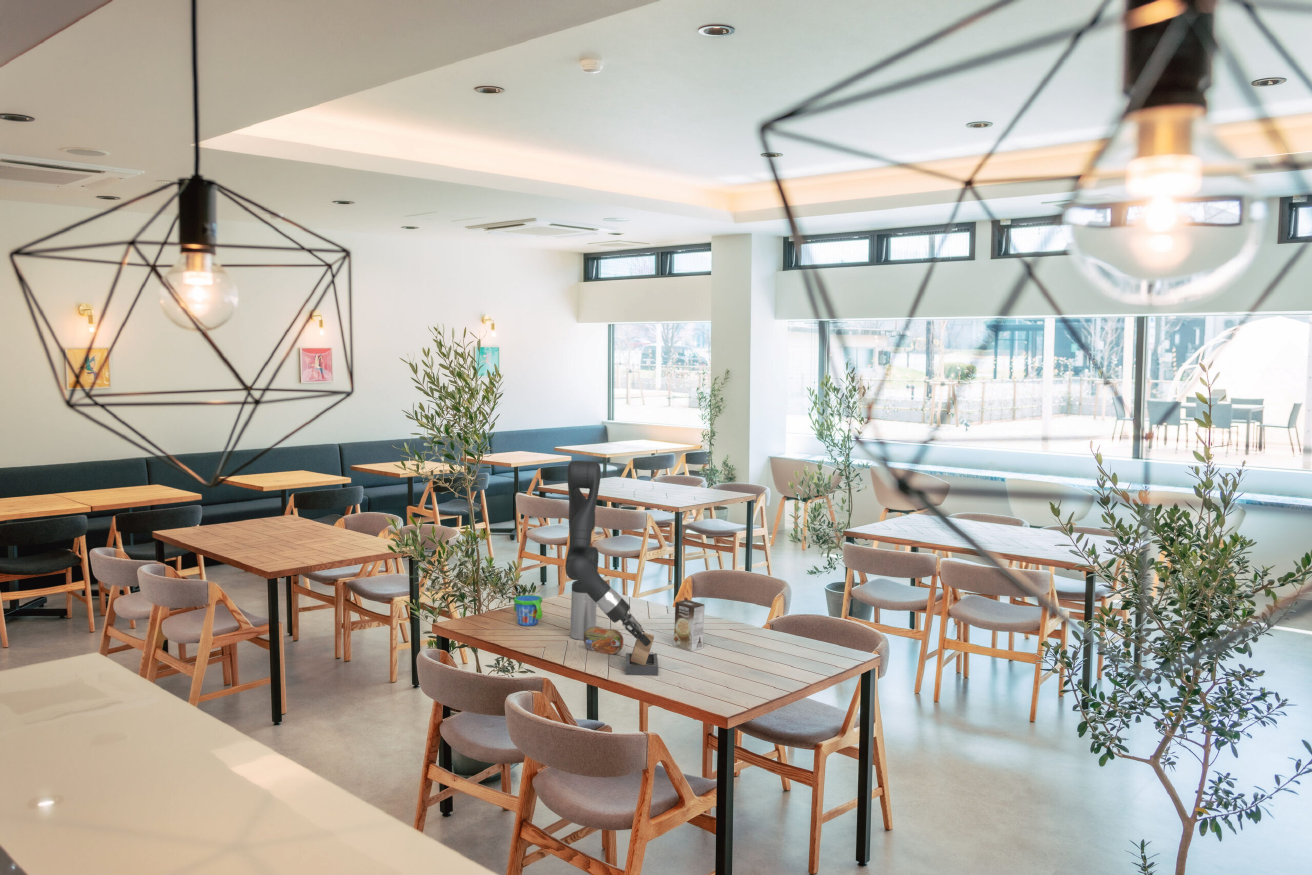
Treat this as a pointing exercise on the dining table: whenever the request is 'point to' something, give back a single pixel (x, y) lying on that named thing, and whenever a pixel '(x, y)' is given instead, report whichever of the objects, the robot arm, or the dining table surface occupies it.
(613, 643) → the tin
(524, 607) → the snack cup
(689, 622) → the coffee box
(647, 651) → the block
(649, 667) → the dark grey tray
